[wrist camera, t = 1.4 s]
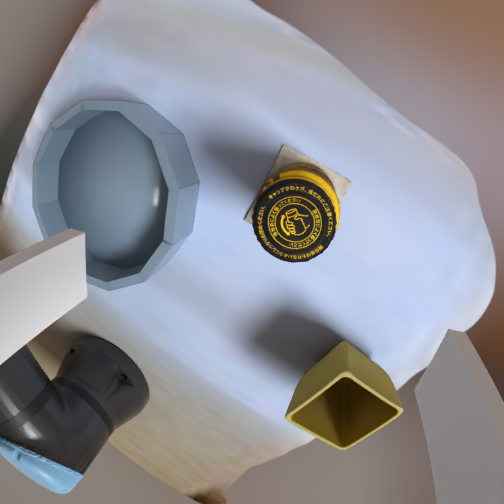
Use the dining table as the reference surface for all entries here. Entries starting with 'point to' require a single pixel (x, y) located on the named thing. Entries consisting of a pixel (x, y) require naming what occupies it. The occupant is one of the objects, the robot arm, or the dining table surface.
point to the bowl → (116, 188)
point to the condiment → (297, 207)
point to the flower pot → (344, 398)
